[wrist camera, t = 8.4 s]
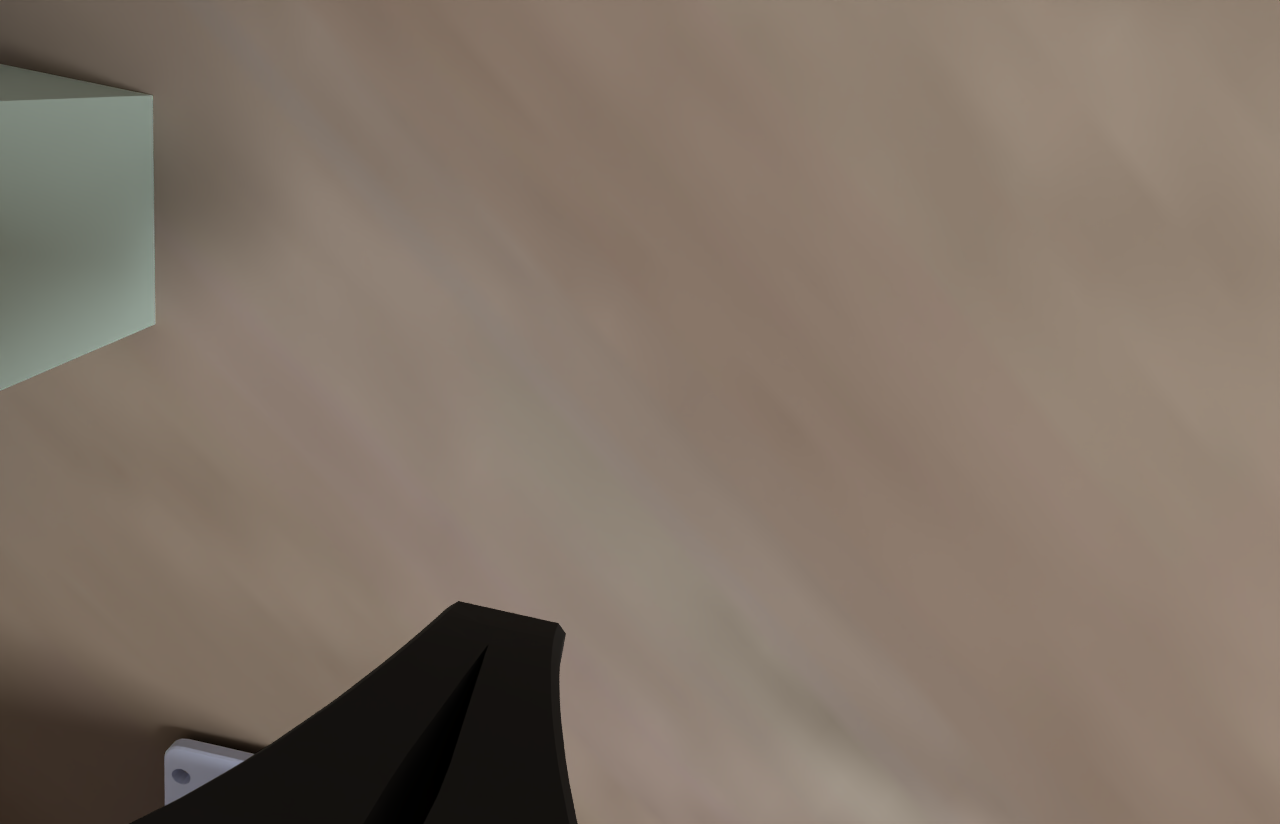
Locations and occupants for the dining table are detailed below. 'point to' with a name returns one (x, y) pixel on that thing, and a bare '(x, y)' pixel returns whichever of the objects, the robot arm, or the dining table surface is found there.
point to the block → (72, 219)
